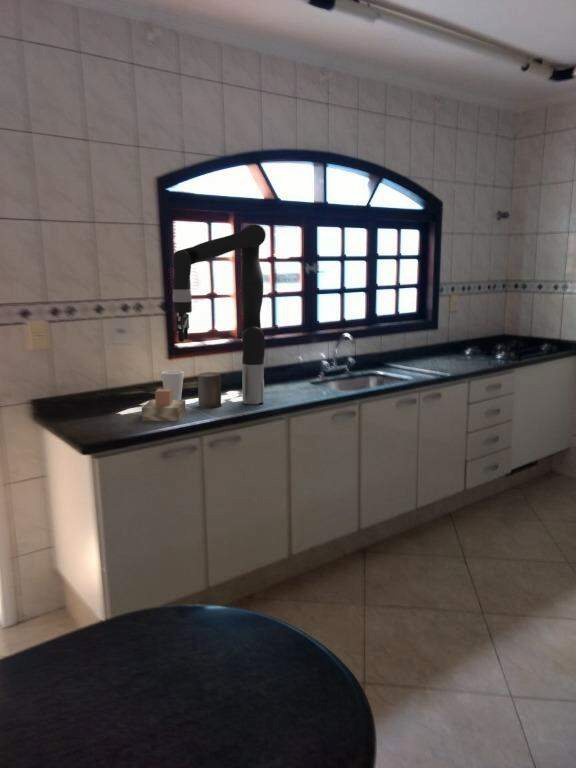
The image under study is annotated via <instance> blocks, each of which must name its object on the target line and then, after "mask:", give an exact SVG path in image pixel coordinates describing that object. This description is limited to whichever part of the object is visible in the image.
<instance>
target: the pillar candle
mask: <svg viewBox="0 0 576 768" xmlns="http://www.w3.org/2000/svg"><path fill="white" fill-rule="evenodd" d="M221 381H222V379H221V373H220V372H216V371H212V372H211V371H210V370H208V372H201V373H198V374H197V388H198V389H197V391H198V393H197V394H198V395H197V396H198V397H197V398H198V406H199V407H200V408H202V409H203V408H204V409H214V408H219V407H221V406H222V389H221V388H222V382H221Z"/></svg>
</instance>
